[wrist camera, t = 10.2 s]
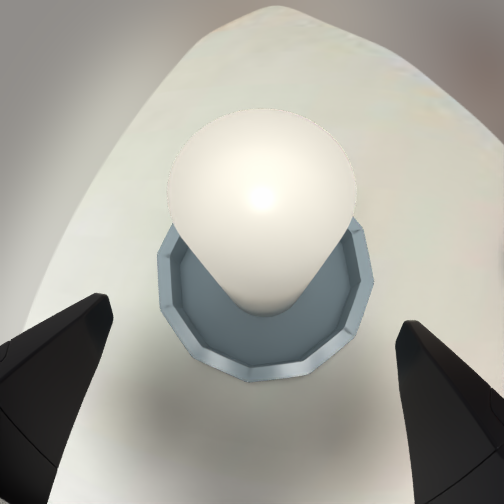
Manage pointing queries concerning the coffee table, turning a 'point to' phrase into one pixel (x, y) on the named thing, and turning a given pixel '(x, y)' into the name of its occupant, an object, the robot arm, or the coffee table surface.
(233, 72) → the coffee table surface
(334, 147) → the ivory pillar candle
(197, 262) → the slate dish
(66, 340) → the robot arm
